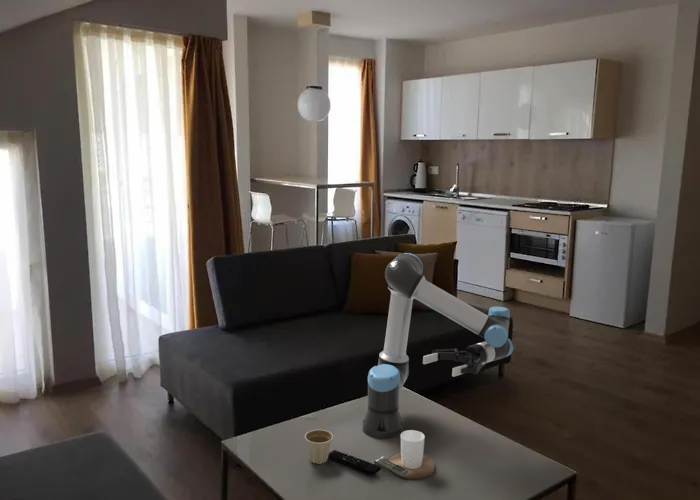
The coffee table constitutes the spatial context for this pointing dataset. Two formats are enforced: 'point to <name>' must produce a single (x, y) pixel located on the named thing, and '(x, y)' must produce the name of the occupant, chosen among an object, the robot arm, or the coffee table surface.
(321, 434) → the flower pot
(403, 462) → the white cup
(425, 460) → the walnut coaster
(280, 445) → the coffee table surface
